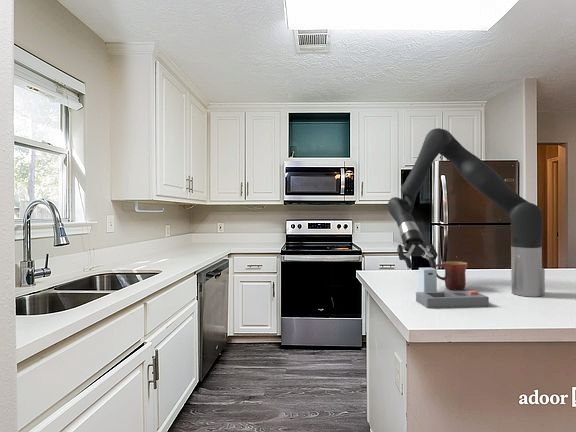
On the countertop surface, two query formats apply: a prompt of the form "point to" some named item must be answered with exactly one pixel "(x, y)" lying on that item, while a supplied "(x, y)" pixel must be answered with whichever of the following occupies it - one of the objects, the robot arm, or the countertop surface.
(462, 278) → the mug
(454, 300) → the power strip
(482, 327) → the countertop surface
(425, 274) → the block
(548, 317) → the countertop surface
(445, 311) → the countertop surface
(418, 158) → the robot arm
